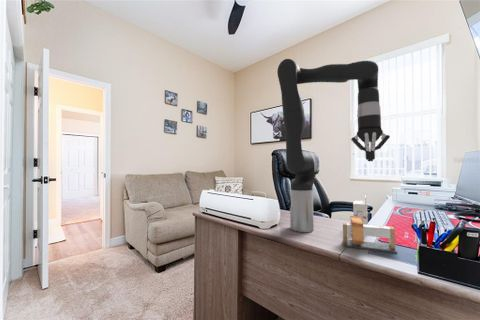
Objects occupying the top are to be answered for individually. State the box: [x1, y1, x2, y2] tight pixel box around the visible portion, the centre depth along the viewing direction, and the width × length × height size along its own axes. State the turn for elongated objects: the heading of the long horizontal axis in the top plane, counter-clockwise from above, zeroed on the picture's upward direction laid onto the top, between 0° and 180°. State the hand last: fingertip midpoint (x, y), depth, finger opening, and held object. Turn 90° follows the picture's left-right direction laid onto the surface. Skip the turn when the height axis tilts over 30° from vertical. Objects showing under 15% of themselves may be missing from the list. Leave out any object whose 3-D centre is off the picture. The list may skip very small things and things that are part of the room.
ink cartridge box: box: [352, 194, 369, 225], centre depth 89 cm, size 9×5×15 cm, turn 148°
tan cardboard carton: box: [349, 215, 365, 245], centre depth 72 cm, size 3×10×7 cm, turn 156°
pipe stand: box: [342, 222, 398, 254], centre depth 71 cm, size 15×6×7 cm, turn 66°
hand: (370, 161), depth 80 cm, fingers closed
